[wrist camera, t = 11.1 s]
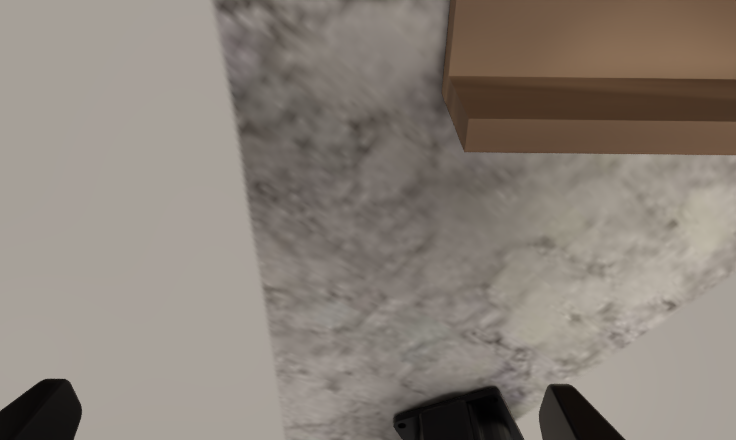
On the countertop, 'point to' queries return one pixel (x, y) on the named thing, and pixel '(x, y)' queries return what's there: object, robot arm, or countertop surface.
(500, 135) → the cabinet floor
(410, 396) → the countertop surface
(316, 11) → the countertop surface
